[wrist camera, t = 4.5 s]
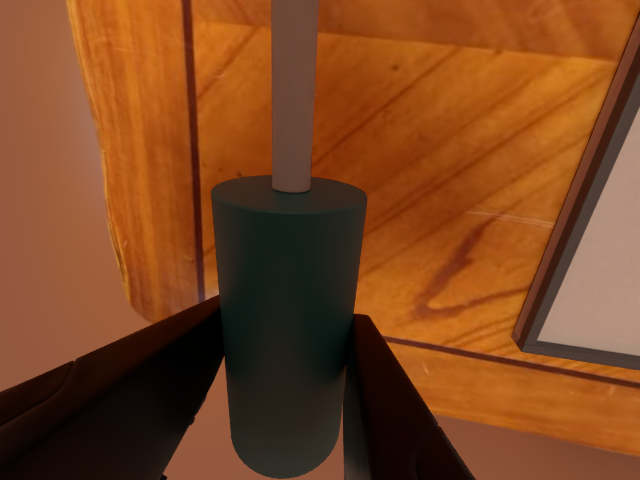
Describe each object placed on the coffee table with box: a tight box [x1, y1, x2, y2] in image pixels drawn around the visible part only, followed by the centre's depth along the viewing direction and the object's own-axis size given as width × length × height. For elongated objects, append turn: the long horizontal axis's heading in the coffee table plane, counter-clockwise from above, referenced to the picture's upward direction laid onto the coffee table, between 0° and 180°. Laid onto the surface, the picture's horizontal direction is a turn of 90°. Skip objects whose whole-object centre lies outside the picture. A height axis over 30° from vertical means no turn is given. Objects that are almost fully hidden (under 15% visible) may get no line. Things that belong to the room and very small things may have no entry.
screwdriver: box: [211, 0, 367, 479], centre depth 6 cm, size 14×3×3 cm, turn 177°
